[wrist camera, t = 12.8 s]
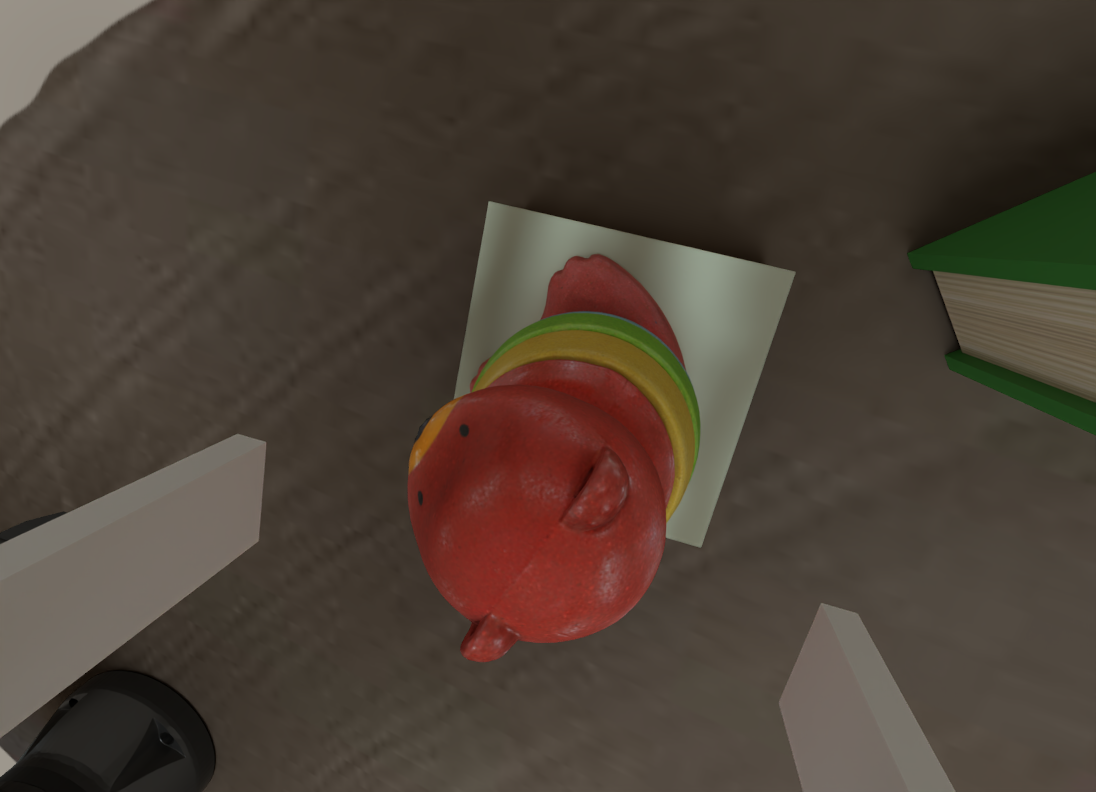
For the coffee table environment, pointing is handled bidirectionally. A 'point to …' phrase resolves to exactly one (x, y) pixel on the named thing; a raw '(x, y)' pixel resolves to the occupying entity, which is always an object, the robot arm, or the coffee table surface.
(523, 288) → the tower base
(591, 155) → the coffee table surface
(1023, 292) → the hardback book
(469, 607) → the stacking bear
